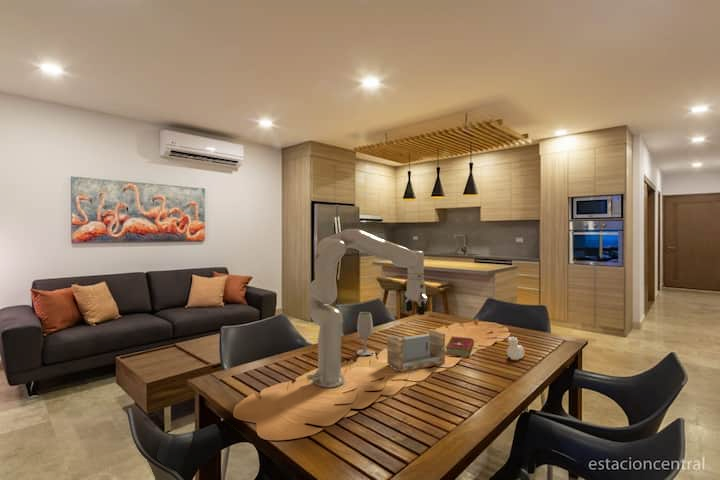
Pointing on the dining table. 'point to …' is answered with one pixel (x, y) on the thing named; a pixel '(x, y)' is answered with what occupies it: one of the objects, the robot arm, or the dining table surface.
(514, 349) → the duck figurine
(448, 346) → the hardcover book
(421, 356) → the door panel
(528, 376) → the dining table surface
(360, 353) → the wineglass
